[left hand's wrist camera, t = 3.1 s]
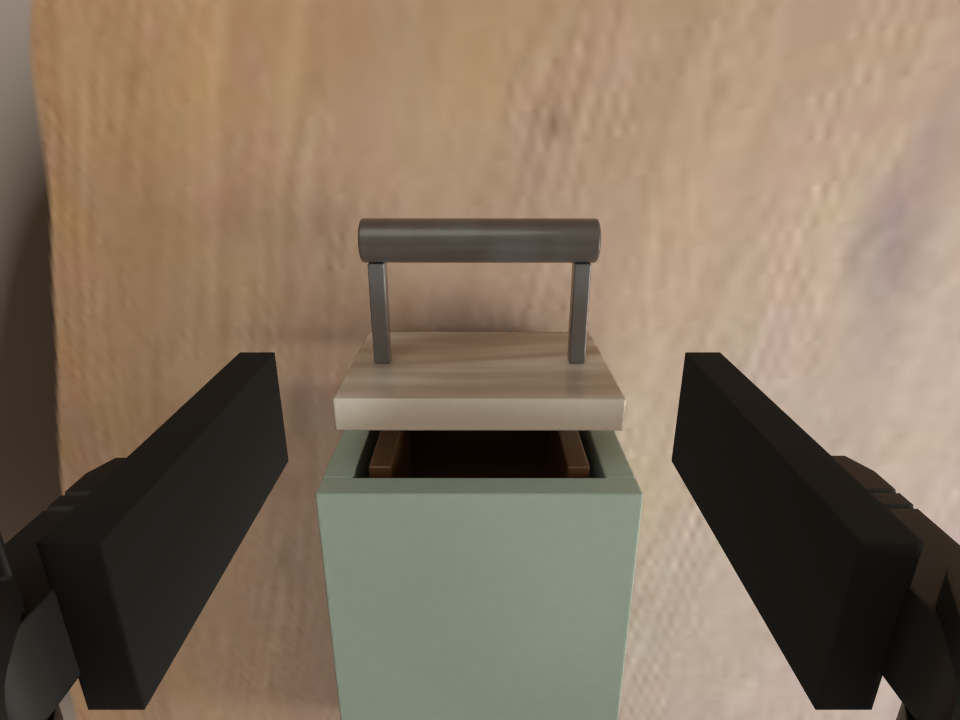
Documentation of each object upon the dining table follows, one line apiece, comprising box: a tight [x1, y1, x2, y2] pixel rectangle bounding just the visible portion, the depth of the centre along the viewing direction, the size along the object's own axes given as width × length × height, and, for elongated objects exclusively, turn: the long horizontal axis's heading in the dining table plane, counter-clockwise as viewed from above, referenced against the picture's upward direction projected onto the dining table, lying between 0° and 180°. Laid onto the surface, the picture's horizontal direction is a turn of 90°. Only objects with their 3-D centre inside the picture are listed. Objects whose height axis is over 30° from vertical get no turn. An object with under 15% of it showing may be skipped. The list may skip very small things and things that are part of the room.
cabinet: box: [316, 430, 643, 720], centre depth 28 cm, size 21×11×9 cm, turn 0°
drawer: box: [333, 219, 626, 478], centre depth 26 cm, size 25×10×7 cm, turn 0°
